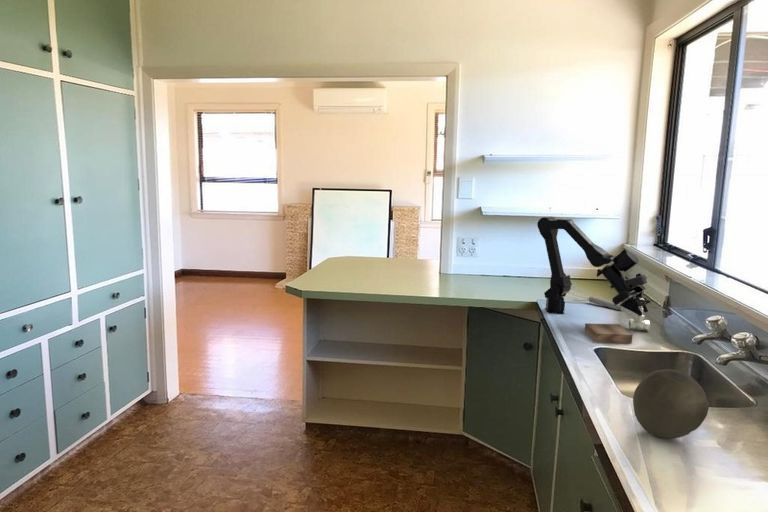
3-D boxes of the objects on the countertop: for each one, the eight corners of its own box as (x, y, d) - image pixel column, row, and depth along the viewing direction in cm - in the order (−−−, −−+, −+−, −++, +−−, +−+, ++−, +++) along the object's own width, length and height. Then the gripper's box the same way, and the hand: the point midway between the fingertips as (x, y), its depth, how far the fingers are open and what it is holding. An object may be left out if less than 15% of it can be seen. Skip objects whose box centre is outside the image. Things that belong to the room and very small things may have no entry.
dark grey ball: (641, 449, 113) (648, 381, 110) (623, 418, 127) (629, 358, 124) (713, 456, 111) (722, 388, 108) (687, 424, 124) (695, 363, 122)
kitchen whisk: (623, 313, 220) (625, 298, 219) (552, 297, 246) (553, 284, 245) (630, 311, 224) (632, 296, 223) (559, 295, 250) (560, 282, 249)
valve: (650, 333, 193) (654, 301, 191) (631, 332, 195) (634, 300, 193) (645, 328, 200) (649, 297, 198) (626, 326, 201) (629, 295, 199)
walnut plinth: (595, 342, 182) (596, 333, 182) (584, 331, 194) (585, 323, 194) (631, 343, 182) (632, 334, 181) (618, 332, 194) (618, 324, 193)
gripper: (624, 269, 189) (654, 305, 184) (642, 263, 203) (670, 297, 197) (600, 287, 196) (628, 323, 190) (619, 280, 209) (646, 313, 204)
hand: (644, 313), depth 195 cm, fingers open, 6 cm apart
